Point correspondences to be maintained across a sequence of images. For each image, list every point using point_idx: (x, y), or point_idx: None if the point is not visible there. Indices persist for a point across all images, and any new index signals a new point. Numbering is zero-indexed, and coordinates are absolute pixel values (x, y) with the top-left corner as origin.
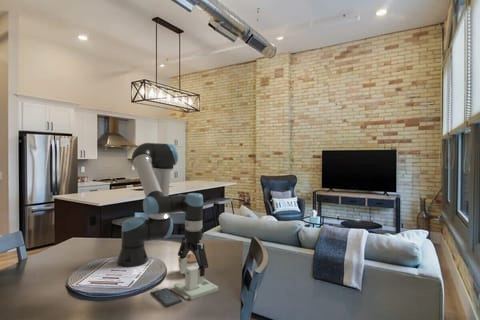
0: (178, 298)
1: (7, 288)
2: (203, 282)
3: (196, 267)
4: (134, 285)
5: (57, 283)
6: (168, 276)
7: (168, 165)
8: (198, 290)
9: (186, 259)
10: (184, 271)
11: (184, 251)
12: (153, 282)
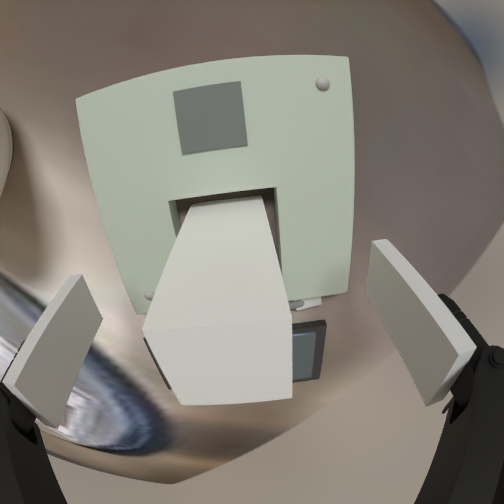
0: (295, 333)
1: (84, 466)
2: (388, 244)
3: (239, 327)
4: (85, 389)
5: (67, 445)
6: (11, 268)
7: None
8: (309, 223)
9: (22, 374)
10: (85, 300)
11: None
12: None
